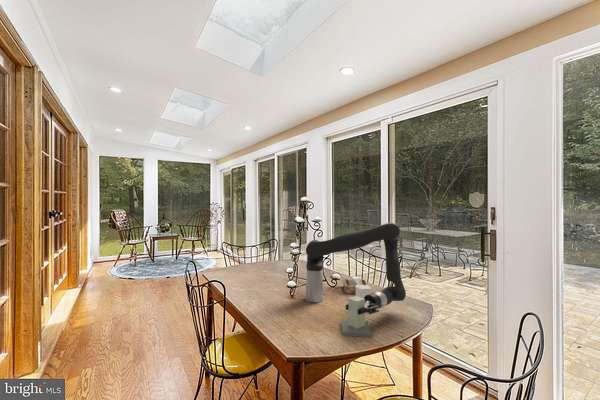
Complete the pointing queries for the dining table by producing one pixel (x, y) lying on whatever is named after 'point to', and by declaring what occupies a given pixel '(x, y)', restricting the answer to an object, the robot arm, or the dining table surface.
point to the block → (356, 312)
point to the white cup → (362, 290)
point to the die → (355, 281)
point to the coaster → (355, 330)
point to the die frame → (351, 289)
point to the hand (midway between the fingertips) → (352, 309)
